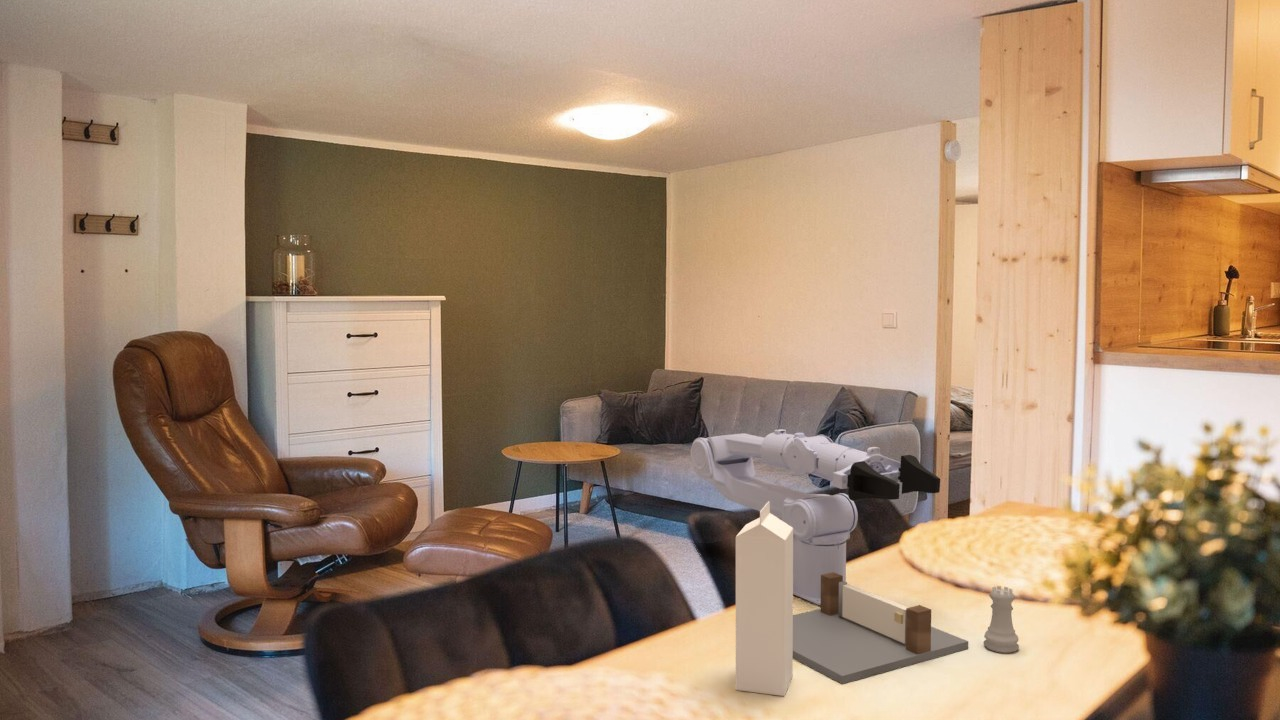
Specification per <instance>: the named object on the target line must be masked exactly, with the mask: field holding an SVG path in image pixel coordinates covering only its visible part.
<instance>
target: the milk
mask: <svg viewBox="0 0 1280 720" xmlns="http://www.w3.org/2000/svg"><path fill="white" fill-rule="evenodd" d="M793 536H794V534H793V528H792V527H791V526H789V525H788V524H786V523H785V522H783V521H782V519H780V518H777V517H776V516H774V515H772V514H771V513H770V502H769V501H768V502H767V504H766V505H765V506H764V507H763V508H762V510H761V511H759V517H758V518H756V519H754V520H752V521H750V522H748V523H746V524H745V525H744V526H743V528H741V530H740V531H739V532H738V533H737V535H736V536H735V690H736V691H741V692H749V693H757V694H765V695H774V696H779V697H780V696H782V697H785V696H786V693H787V692H788V689H789V686H790V683H791V681H792V679H793V675H794V674H793V672H794V671H793V665H794V664H793V662H794V660H793V659H794V658H793V615H794V594H793Z"/></svg>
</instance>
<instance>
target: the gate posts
mask: <svg viewBox="0 0 1280 720" xmlns="http://www.w3.org/2000/svg"><path fill="white" fill-rule="evenodd" d="M842 581H843V576H842V575H839V574H837V573H834V572H832V573H827V574H823V575H821V605H820V609H821V612H822V613H824V614H826V615H829V616H832V615H836V614H838V609H839V582H842ZM931 627H932V609H931V608H928V607H926V606H924V605H920V604H918V605H915V606H910V607H909V608H906V650H908V651H910V652H913V653H915V654H921V653H925V652H928V651H931Z"/></svg>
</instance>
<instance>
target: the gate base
mask: <svg viewBox="0 0 1280 720" xmlns="http://www.w3.org/2000/svg"><path fill="white" fill-rule="evenodd" d="M968 649H969V640H967V639H963V638H962V637H959V636H957V635H953V634H951V633H949V632H946V631H944V630H942V629H939V628H937V627H934V626H931V651H928V652H925V653H921V654H915V653H913V652H910V651H908V650H906V643H905V644H904V643H902V642H900V641H897V640H895V639H893V638H891V637H888V636H886V635H884V634H881V633H879V632H877V631H874V630H872V629H870V628H868V627H865V626H863V625H861V624H858V623H856V622H854V621H851V620H849V619H847V618H844V617H840V616H838V614H836V615H832V616H829V615H826V614H824V613H822V612H821V608H817V609H815V610H814V609H813V610H810V611H806V612H805V611H804V612H801V613H795V614H793V659H794V660H796V661H798V662H800V663H801V664H803V665H805V666H807V667H809V668H811V669H813V670H815V671H817V672H818V673H820V674H823V675H825V676H826V677H828V678H831V679H832V680H834V681H836V682H837V683H839V684H841V685H843V684H846V683H847V684H848V683H852V682H854V681H858V680H861V679H865V678H869V677H872V675H873V676H876V675H879V673H880V674H883V673H887V672H890V671H893V670H898V669H900V668H905V667H908V666H911V665H915V664H918V663H921V662H925V661H929V660H933V659H937V658H940V657H943V656H947V655H951V654H954V653H957V652H962V651H964V650H968ZM875 674H876V675H875Z"/></svg>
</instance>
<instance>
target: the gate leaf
mask: <svg viewBox="0 0 1280 720" xmlns="http://www.w3.org/2000/svg"><path fill="white" fill-rule="evenodd" d="M906 608H909V607H908V606H907V605H903V604H900V603H899V602H896V601H893V600H891V599H888V598H885V597H884V596H880V595H878V594H875V593H872V592H870V591H868V590H865V589H862V588H859V587H858V586H855V585H852V584H848V582H847V581H846V582H843V581H842V582H839V609H838V616H840V617H844V618H847V619H849V620H851V621H854V622H856V623H858V624H861V625H863V626H865V627H868V628H870V629H872V630H874V631H877V632H879V633H881V634H884V635H886V636H888V637H891V638H893V639H895V640H897V641H900V642H902V643H904V644H905V643H906Z"/></svg>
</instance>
